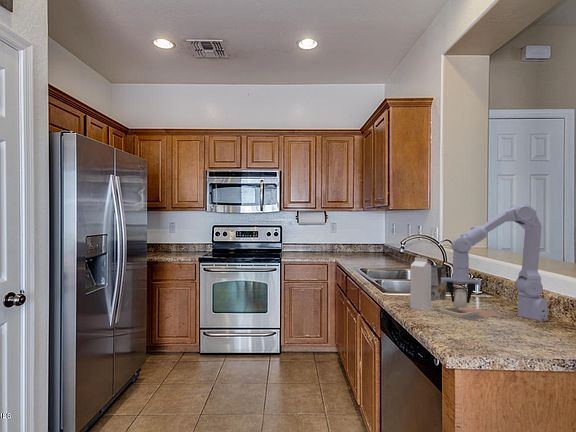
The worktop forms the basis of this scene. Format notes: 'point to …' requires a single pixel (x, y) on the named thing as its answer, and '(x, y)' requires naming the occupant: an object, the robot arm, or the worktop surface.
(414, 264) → the milk
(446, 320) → the worktop surface
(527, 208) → the robot arm
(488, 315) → the jug holder
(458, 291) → the jug
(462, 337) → the worktop surface
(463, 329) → the worktop surface
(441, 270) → the coffee box
